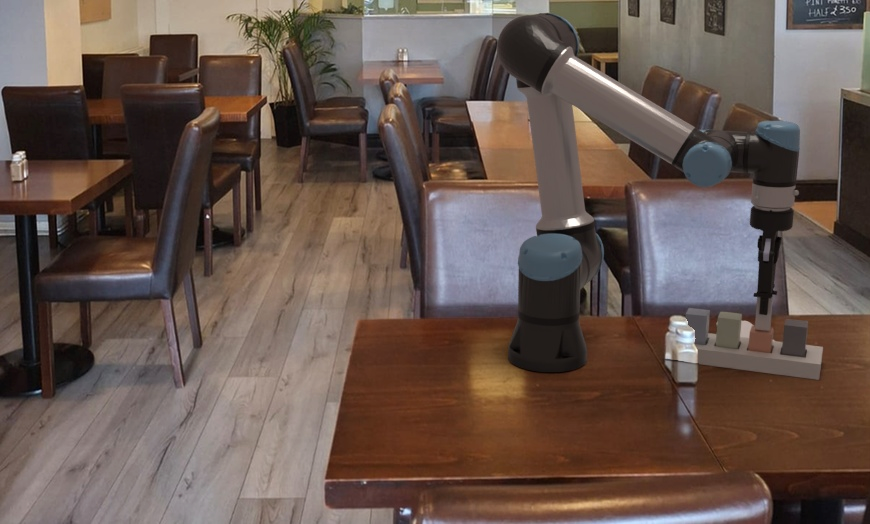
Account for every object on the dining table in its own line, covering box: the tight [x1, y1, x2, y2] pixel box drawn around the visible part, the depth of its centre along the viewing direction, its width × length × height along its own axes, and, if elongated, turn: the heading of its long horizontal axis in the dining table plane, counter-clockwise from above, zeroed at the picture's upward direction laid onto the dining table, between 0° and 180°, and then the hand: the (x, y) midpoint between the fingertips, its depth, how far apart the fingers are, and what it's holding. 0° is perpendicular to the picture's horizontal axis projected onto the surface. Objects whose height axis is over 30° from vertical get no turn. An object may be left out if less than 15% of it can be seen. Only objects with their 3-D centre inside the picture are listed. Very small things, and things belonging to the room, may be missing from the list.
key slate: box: [685, 307, 711, 345], centre depth 201 cm, size 4×4×6 cm
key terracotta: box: [748, 325, 775, 353], centre depth 197 cm, size 4×4×6 cm
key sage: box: [716, 311, 743, 349], centre depth 199 cm, size 4×4×6 cm
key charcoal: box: [782, 318, 809, 357], centre depth 194 cm, size 4×4×6 cm
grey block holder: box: [664, 332, 824, 381], centre depth 199 cm, size 28×10×3 cm, turn 68°
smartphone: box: [715, 320, 776, 341], centre depth 214 cm, size 7×1×15 cm
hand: (762, 328), depth 196 cm, fingers closed
